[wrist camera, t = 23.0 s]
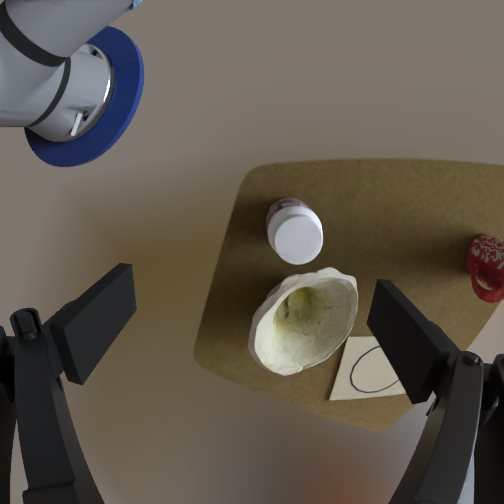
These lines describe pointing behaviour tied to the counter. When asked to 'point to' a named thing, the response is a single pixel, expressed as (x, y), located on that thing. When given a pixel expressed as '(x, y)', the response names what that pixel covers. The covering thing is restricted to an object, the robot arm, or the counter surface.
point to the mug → (487, 267)
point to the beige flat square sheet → (364, 371)
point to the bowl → (303, 321)
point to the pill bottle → (294, 231)
